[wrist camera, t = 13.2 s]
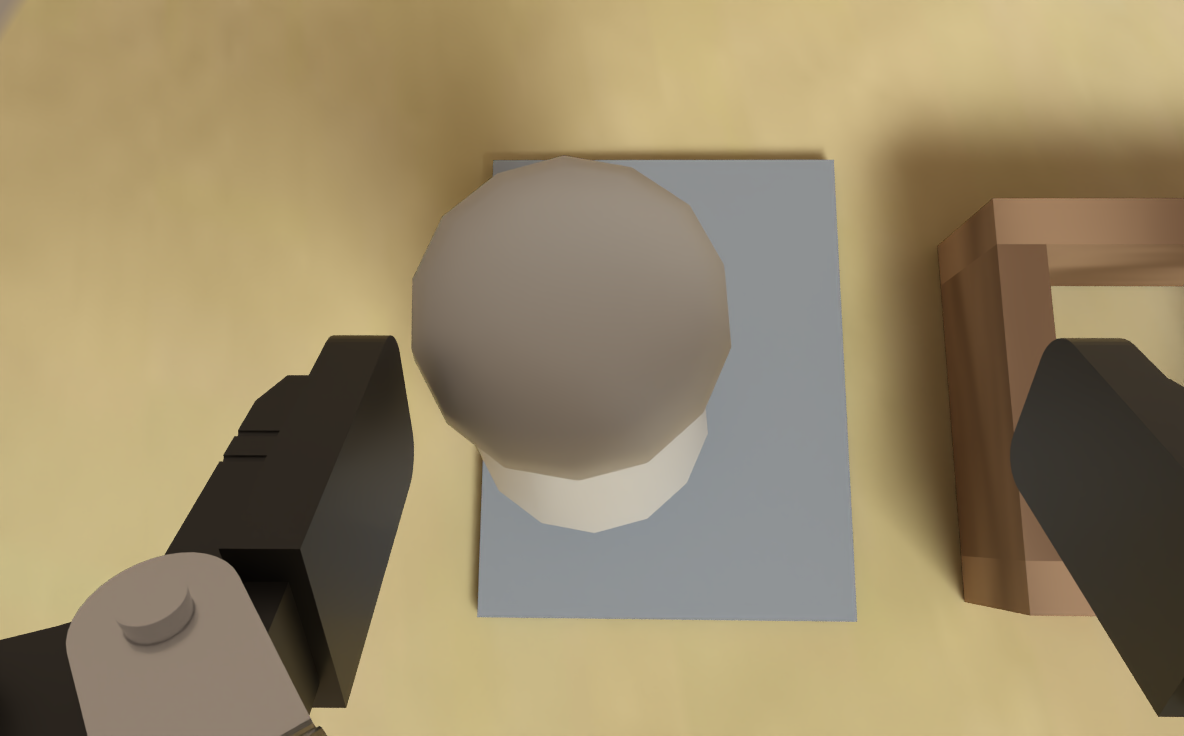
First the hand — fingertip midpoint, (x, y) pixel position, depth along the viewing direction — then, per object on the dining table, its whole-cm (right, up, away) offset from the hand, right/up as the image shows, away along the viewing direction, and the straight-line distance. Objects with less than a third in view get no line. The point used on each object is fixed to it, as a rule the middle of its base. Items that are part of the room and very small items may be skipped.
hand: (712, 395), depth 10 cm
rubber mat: (0, 0, +13) cm, 13 cm away
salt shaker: (-2, -1, +12) cm, 13 cm away
